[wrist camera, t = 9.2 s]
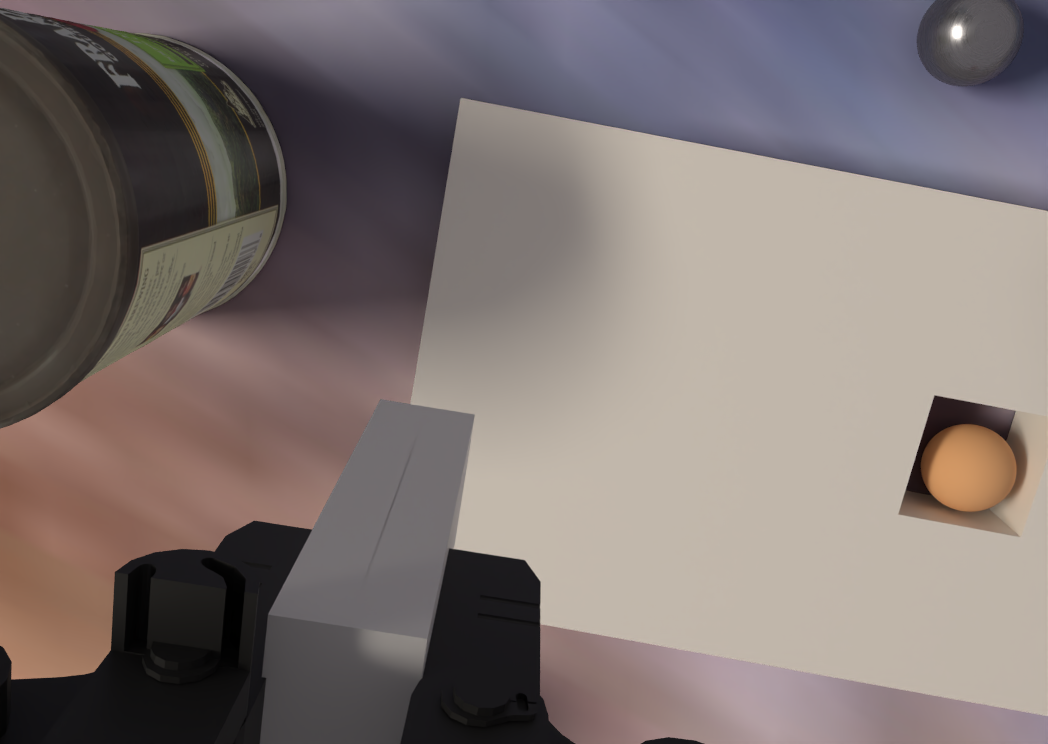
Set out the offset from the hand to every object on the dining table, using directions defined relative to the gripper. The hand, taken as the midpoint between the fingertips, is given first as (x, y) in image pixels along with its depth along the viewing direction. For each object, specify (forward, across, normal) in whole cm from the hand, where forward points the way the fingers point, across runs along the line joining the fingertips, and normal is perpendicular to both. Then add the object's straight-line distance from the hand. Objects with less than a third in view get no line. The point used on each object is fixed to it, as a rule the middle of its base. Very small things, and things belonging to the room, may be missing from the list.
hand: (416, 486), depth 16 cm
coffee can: (+22, -13, +1) cm, 25 cm away
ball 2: (+20, +18, -4) cm, 27 cm away
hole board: (+21, +12, -4) cm, 25 cm away
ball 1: (+20, +14, +10) cm, 27 cm away
